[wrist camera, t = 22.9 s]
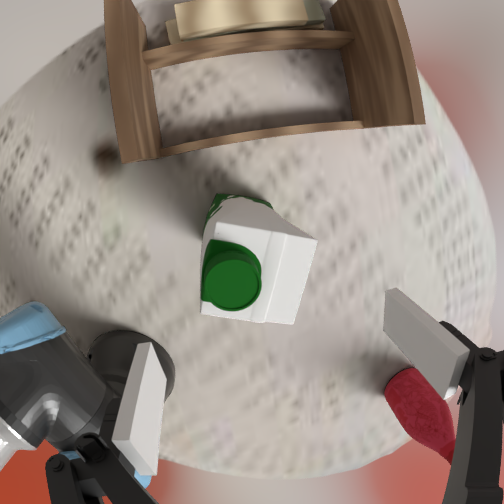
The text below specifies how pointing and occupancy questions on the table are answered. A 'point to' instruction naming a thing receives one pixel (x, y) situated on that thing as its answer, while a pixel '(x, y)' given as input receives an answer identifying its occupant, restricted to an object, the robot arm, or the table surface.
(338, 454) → the table surface
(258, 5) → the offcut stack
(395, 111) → the walnut rack
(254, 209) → the soya milk
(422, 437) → the wine bottle
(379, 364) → the table surface
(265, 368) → the table surface
